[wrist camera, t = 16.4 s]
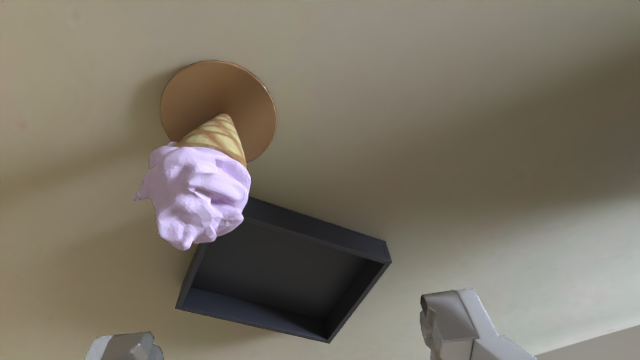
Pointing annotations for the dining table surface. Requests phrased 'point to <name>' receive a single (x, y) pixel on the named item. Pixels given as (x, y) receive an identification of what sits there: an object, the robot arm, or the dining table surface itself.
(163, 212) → the ice cream cone
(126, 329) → the dining table surface
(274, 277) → the tray
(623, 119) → the dining table surface
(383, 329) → the dining table surface
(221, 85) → the coaster
